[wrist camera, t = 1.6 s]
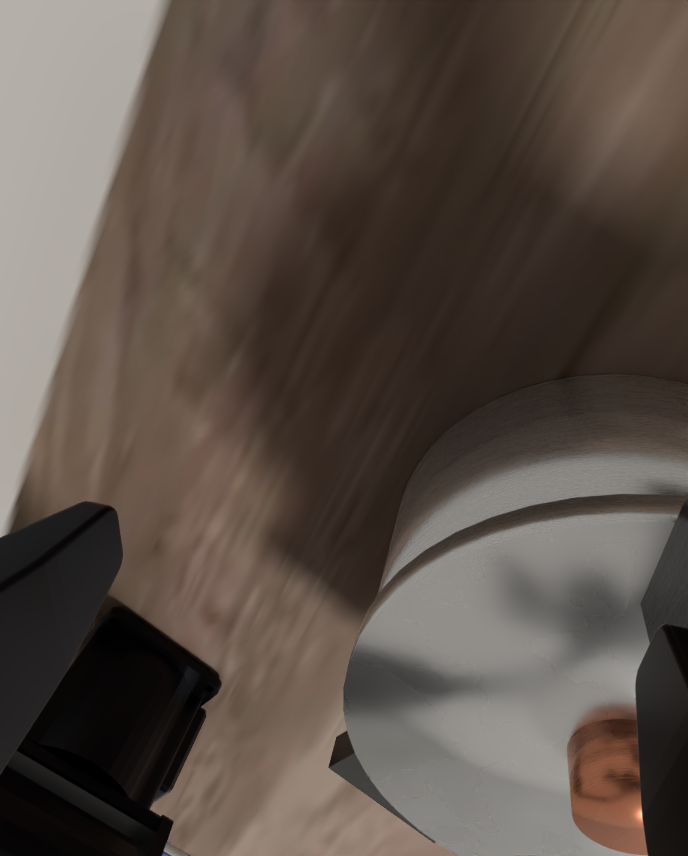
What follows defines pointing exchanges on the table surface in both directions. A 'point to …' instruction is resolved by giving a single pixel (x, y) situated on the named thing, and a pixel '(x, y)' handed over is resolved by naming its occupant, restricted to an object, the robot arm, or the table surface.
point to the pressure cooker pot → (536, 471)
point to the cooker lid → (520, 676)
